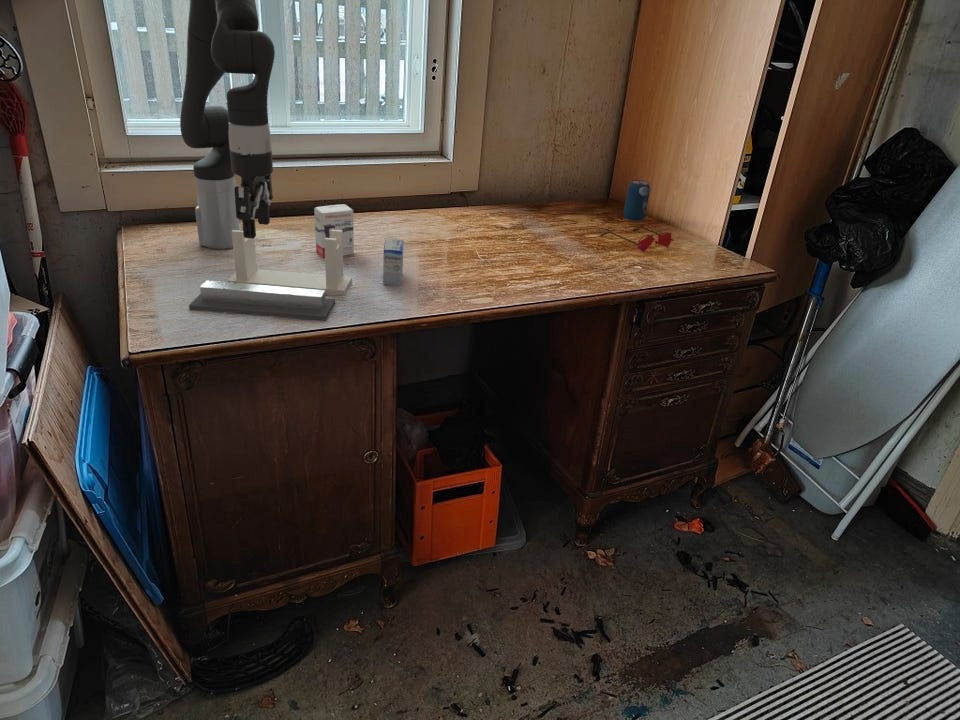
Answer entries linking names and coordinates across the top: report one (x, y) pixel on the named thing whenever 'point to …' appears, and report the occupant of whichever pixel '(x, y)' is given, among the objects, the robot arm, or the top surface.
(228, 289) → the rail
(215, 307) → the rubber mat
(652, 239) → the glasses
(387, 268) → the medicine box
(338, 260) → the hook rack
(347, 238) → the ink box
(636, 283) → the top surface
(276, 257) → the top surface
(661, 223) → the top surface
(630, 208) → the soda can
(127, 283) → the top surface
